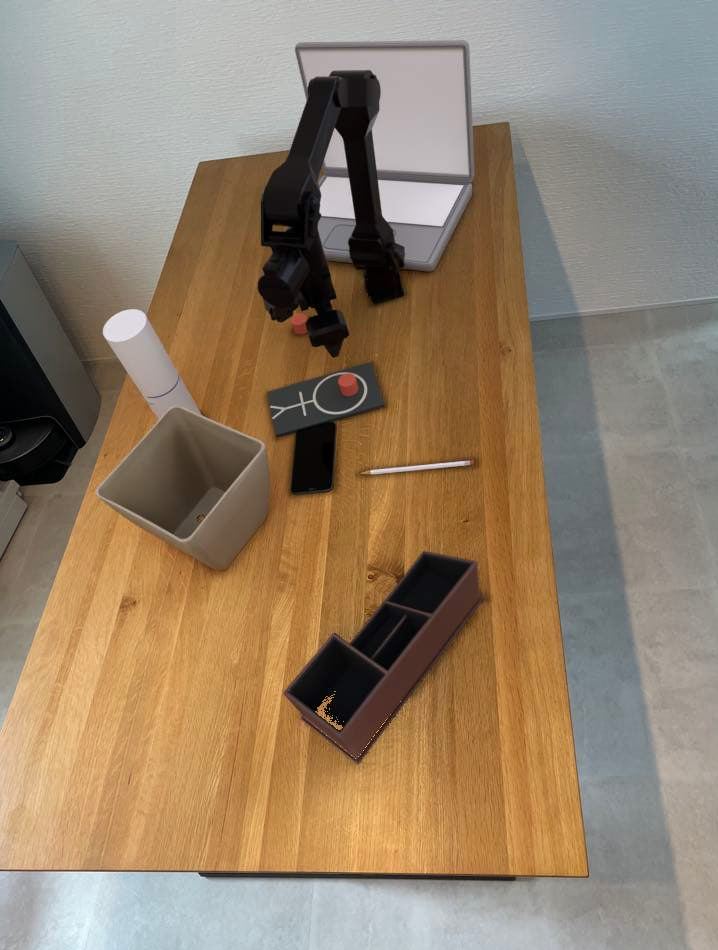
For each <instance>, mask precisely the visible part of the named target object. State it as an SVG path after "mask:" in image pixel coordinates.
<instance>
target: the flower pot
mask: <svg viewBox="0 0 718 950" xmlns="http://www.w3.org/2000/svg"><path fill="white" fill-rule="evenodd" d="M270 473H271V472H270V463H269V457H268V451H267V447H266V443H265V442H264V441H262V440H260V439H258V438H255V437H254V436H251V435H248V434H246V433H243V432H242V431H239V430H237V429H234V428H232V427H230V426H227V425H225V424H222V423H221V422H218V421H216V420H214V419H212V418H209V417H207V416H204V415H202V414H201V415H200V414H198V413H195V412H193V411H191V410H189V409H187V408H184V407H182V406H180V405H174V406H171V407H170V408H169V409H168V410H167V411H166V413H165V414H164V415H163V416H162V417H161V418H160V419H159V420H158V419H157V421H156V423H154V425H153V426H152V427H151V428H150V429H149V430H148V431H147V433H146V434H145V435H144V436H143V437H142V438H141V439H140V440H139V441H138V442H137V444H136V445H135V446H133V448H131V450H130V451H129V452H128V453H127V454H126V456H125V457H124V458H123V459H121V461H120V462H119V463H118V464H117V465H116V466H115V467H114V469H113V470H112V471H111V472H110V473H109V474H108V475H107V476H106V477H105V478H104V480H102V482H100V484H99V485H98V486H97V487H96V489H95V491H94V493H95V496H97V498H98V499H100V500H101V501H102V502H103V503H104V504H106V505H107V506H108V507H110V508H111V509H112V510H114V511H115V512H116V513H118V514H119V515H121V516H122V517H123V518H124V519H126V520H127V521H129V522H131V523H132V524H134V525H135V526H137V527H138V528H140V529H142V530H143V531H145V532H147V533H148V534H150V535H152V536H154V537H156V538H158V539H159V540H161V541H163V542H165V543H166V544H168V545H170V546H172V547H174V548H176V549H178V550H179V551H181V552H183V553H185V554H187V555H189V556H191V557H193V558H194V559H195V560H198V561H199V562H201V563H202V564H204V565H206V566H208V567H210V568H211V569H213V570H215V571H218V572H224V571H226V570H227V569H228V568H229V567H230V566H231V564H232V563H233V562H234V560H235V559H236V558H237V557H238V555H239V554H240V553H241V551H242V550H243V549H244V548H245V546H246V545H247V544H248V543H249V541H250V540H251V538H252V537H253V536H254V535H255V534H256V532H257V531H258V530H259V528H260V527H261V526H262V524H263V523H264V522H265V521H266V519H267V518H268V515H269V510H270V500H271V499H270V498H271V474H270ZM200 516H203V517H204V518H203V519H202V520H201V521H198V517H200Z"/></svg>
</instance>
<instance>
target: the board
mask: <svg viewBox="0 0 718 950" xmlns="http://www.w3.org/2000/svg"><path fill="white" fill-rule="evenodd" d="M347 373H350V374H353V375H354V376H355V377H356V381H357V384H358V391H357V393H356V394H354V395H352V396H344V395H343V394H342V393H341V390H340V387H339V383H338V380H339V378H340V377H341V376H342V375H343V374H347ZM266 392H267V398H268V402H269V403H268V405H269V408H270V414H271V420H272V426H273V432H274V436H275V438H276V439H277V438H278V439H279V438H281V437H284V436H288V435H291V434H296V431H298V430H301V429H305V428H308V427H312V426H315V425H319V424H322V423H328V422H334V423H335V422H337V421H341V420H343V419H348V418H351V417H354V416H358V415H362V414H365V413H368V412H372V411H375V410H379V409H382V408H385V407H386V406H385V402H384V400H383V396H382V393H381V389H380V387H379V383H378V380H377V377H376V374H375V370H374V367H373V364H372V362H371V361H369V362H365V363H361V364H359V365H355V366H351V367H349V368H345V369H341V370H337V371H334V372H331V373H329V374H325V375H320V376H316V377H314V378H310V379H307V380H304V381H300V382H296V383H293V384H290V385H286V386H282V387H280V388H279V387H278V388H276V389H272V390H268V391H266Z"/></svg>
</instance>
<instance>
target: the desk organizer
mask: <svg viewBox="0 0 718 950" xmlns="http://www.w3.org/2000/svg"><path fill="white" fill-rule="evenodd" d="M478 569H479V567H478V560H472V559H466V558H462V557H458V556H457V557H456V556H452V555H446V554H442V553H437V552H433V551H428V550H422V551H421V553H420V554H419V555H418V556H417V558H416V560H415V561H414V563H412V565H410V567H409V569H408V570H407V571H406V573H405V574H404V575H403V576H402V578H401V579H400V581H398V583H397V584H396V585H395V586H394V588H393V589H392V590H391V591H390V592H389V594H388V595H387V596H386V598H385V599H384V600H383V601H382V603H380V605H379V606H378V607H377V609H376V610H375V611H374V612H373V614H372V615H371V616H370V617H369V618H368V620H367V621H366V622H365V623H364V624H363V626H362V627H361V628H360V630H359V631H358V632H357V633H356V635H355V636H354V637H353V638H352V639H351V640H350V642H348V641H346V640H345V639H343V637H341V636H340V635H339V634H338V633H336V632H333V633H331V635H330V636H329V637H328V638H327V639H326V640H325V642H323V644H322V646H321V647H320V648H319V649H318V650H317V651H316V653H314V655H313V656H312V657H311V658H310V660H308V662H307V663H306V665H305V666H304V667H303V668H302V669H301V671H300V672H299V673H298V674H297V675H296V676H295V678H294V679H293V680H292V681H291V682H290V683H289V685H288V686H287V687H286V688H285V690H284V691H283V695H284V697H285V698H286V699H287V700H288V701H289V702H290V703H291V704H292V705H293V707H294V708H295V709H296V710H297V711H298V712H299V713H300V714H301V717H300V718H299V719H300V720H301V721H302V722H303V723H304V724H306V725H307V726H308V727H309V728H311V729H312V730H313V731H315V732H316V733H317V734H319V735H320V736H321V737H322V738H323V739H325V740H326V741H327V742H329V743H330V744H331V745H333V747H335V748H336V749H337V750H339V752H341V753H342V754H343V755H345V757H346V758H348V759H350V760H351V761H352V762H354V763H355V765H357V766H359V765H360V763H361V761H362V760H363V759H364V757H365V756H367V754H368V753H369V751H370V750H371V749H372V747H373V746H374V744H375V743H376V742H377V741H378V740H379V738H380V736H381V735H382V734H383V733H384V731H385V730H386V729H387V728H388V726H389V725H390V723H391V722H392V721H393V719H394V718H395V717H396V715H397V714H398V713H399V711H400V710H401V709H402V708H403V706H404V705H405V704H406V703H407V701H408V700H409V699H410V697H411V696H412V695H413V694H414V692H415V690H416V689H417V688H418V687H419V685H420V684H421V682H422V681H423V680H424V678H426V676H427V675H428V673H429V672H430V671H431V669H432V668H433V667H434V666H435V664H436V663H437V662H438V660H439V659H440V657H441V656H442V655H443V653H444V652H445V651H446V649H447V648H448V647H449V646H450V644H452V642H453V640H454V639H455V638H456V636H457V635H458V633H459V632H461V630H462V629H463V627H464V626H465V624H466V623H467V622H468V621H469V619H470V618H471V617H472V615H473V614H474V612H475V611H476V610H477V609H478V608H479V606H480V604H481V603H482V602H483V601H484V600H485V599H486V597H485V596H484V595H482V594H480V583H479V570H478ZM334 691H336V692H334ZM333 694H335V695H333ZM331 695H333V696H331ZM326 696H328V697H330V696H331V697H334V698H332V699H331V700H332V701H331V702H330V704H329V703H328V704H327V706H326V707H327V709H326V708H324V710H325V711H326V712H325V711H324V712H325V714H326V717H327V715H329V717H330V716H331V717H333V719H330V720H332V721H331V722H334V721H335V720H336V721H337V722H336V723H337V724H338V725H342V727H343V728H342V729H341V730H338V729H336V728H335V727H334V726H333V725H331V724H330V723H328V722H327V721H326V720H325V719H323V718H322V717H321V716H319V715H318V714H317V713H316V712H315V711H317V710H318V709H317V707H319V706H320V705H321V704H322V703H323V702H322V701H323V700H324V699H327V698H328V697H326ZM325 697H326V698H325ZM331 697H330V698H331ZM327 700H328V699H327ZM327 700H326V701H327ZM326 701H324V702H326ZM328 701H329V700H328ZM400 701H401V702H400ZM323 707H324V706H323ZM329 708H330V710H329ZM321 711H322V710H321ZM327 711H328V712H327ZM317 712H318V711H317ZM329 713H330V714H329ZM390 714H391V715H390ZM332 715H333V716H332ZM331 717H330V718H331ZM336 717H337V718H336ZM324 718H325V717H324ZM387 718H388V719H387ZM337 719H338V720H337ZM386 719H387V720H386ZM385 720H386V721H385ZM338 721H339V722H338ZM343 721H344V722H343ZM329 722H330V721H329ZM384 722H385V723H384ZM334 723H335V722H334ZM383 723H384V724H383ZM337 724H336V725H337ZM382 724H383V725H382ZM381 726H382V727H381ZM316 727H317V728H316ZM380 727H381V728H380ZM378 730H379V731H378ZM321 731H322V732H321ZM377 731H378V732H377ZM376 732H377V733H376ZM326 735H327V736H326ZM374 735H375V736H374ZM373 736H374V737H373ZM371 739H372V740H371ZM335 742H336V743H335ZM369 742H370V743H369ZM368 743H369V744H368ZM367 744H368V745H367ZM340 746H341V747H340ZM366 746H367V747H366ZM365 747H366V748H365ZM345 750H346V751H345ZM363 750H364V751H363ZM360 754H361V755H360ZM351 755H352V756H351ZM358 756H359V757H358ZM355 758H356V759H355Z"/></svg>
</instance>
